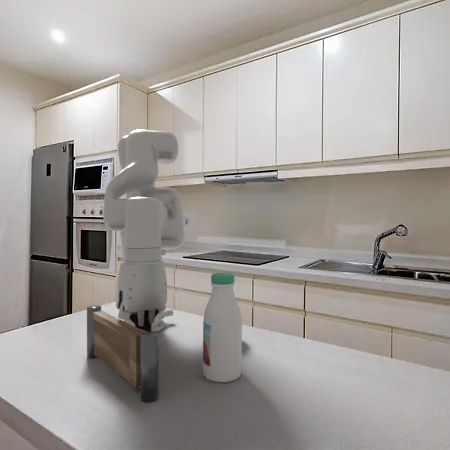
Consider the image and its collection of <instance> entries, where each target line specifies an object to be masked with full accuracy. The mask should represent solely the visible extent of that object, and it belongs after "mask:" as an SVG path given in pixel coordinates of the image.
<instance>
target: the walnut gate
mask: <svg viewBox="0 0 450 450" xmlns="http://www.w3.org/2000/svg"><path fill="white" fill-rule="evenodd" d="M93 319H94V355H95V356H96V357H97V358H96V359H99V360H100V361H101V362H103V363H104V364H105V365H106V366H108V367H110V368H111V369H113V371H115V372H116V373H118V374H119V375H120V376H121V377H123V378H124V380H127V381H128V382H129V383H128V384H129V385H130V386H132V388H134V389H135V390H136V389H139V388H140V389H141V334H142V333H144V332H146V331H144V330H142V329H138V328H136V327H134V326H132V325H130V324H128V323H126V322H124V320H123V319H120V318H118V317H116V316H114V315H111V314H110V313H108V312H105V311H104V310H101V311H99V312H94V313H93Z"/></svg>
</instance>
